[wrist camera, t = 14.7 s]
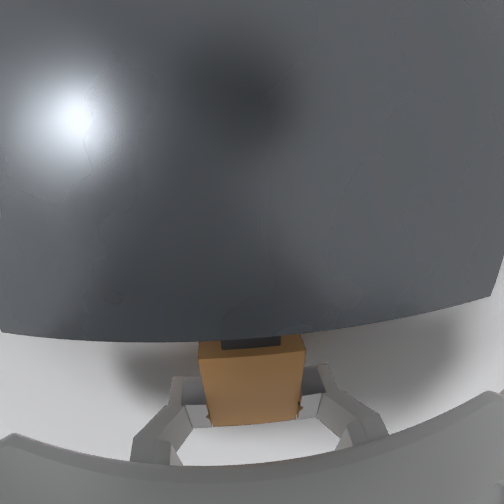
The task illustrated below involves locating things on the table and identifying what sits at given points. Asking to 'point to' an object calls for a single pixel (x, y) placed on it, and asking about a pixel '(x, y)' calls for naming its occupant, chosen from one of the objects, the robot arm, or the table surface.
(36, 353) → the table surface
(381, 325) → the table surface
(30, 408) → the table surface
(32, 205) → the slotted block
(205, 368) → the plug
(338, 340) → the table surface
